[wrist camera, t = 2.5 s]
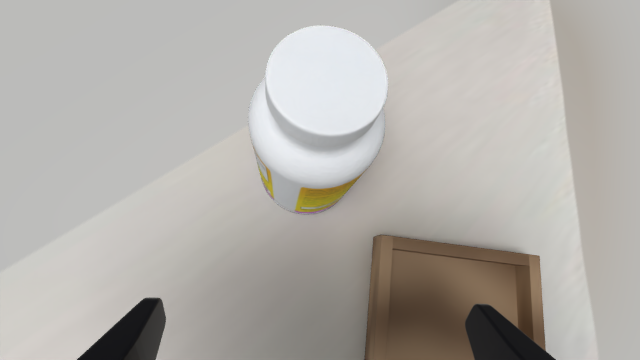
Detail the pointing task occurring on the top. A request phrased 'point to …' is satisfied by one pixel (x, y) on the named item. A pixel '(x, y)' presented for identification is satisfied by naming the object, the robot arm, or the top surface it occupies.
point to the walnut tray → (445, 297)
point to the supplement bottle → (317, 117)
